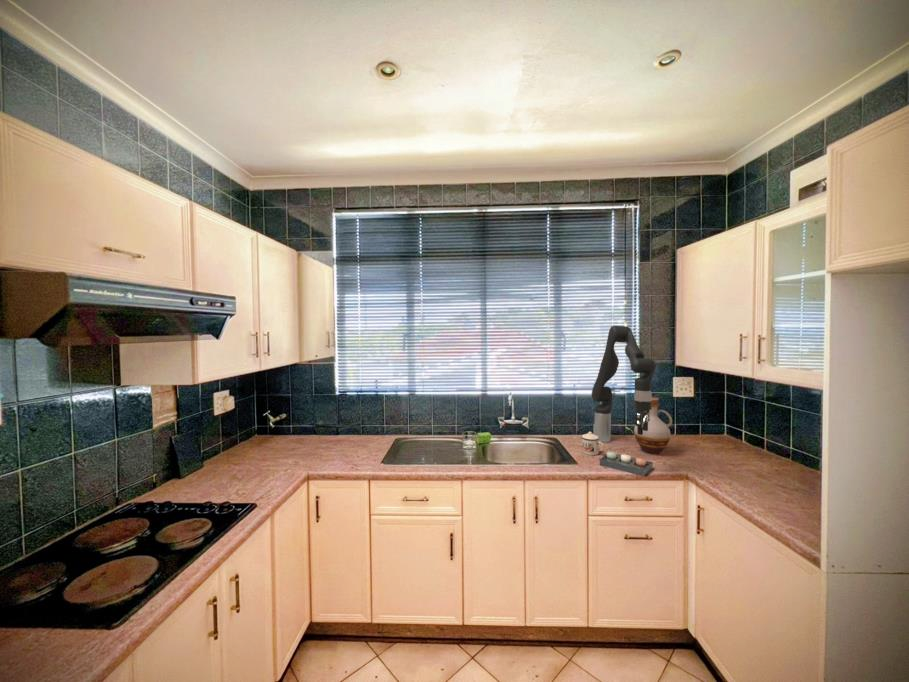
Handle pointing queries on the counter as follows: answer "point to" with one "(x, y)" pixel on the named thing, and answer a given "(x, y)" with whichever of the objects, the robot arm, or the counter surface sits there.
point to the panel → (626, 465)
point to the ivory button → (626, 458)
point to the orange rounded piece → (641, 462)
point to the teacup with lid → (591, 444)
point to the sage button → (611, 455)
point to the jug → (654, 431)
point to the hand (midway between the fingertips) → (642, 432)
